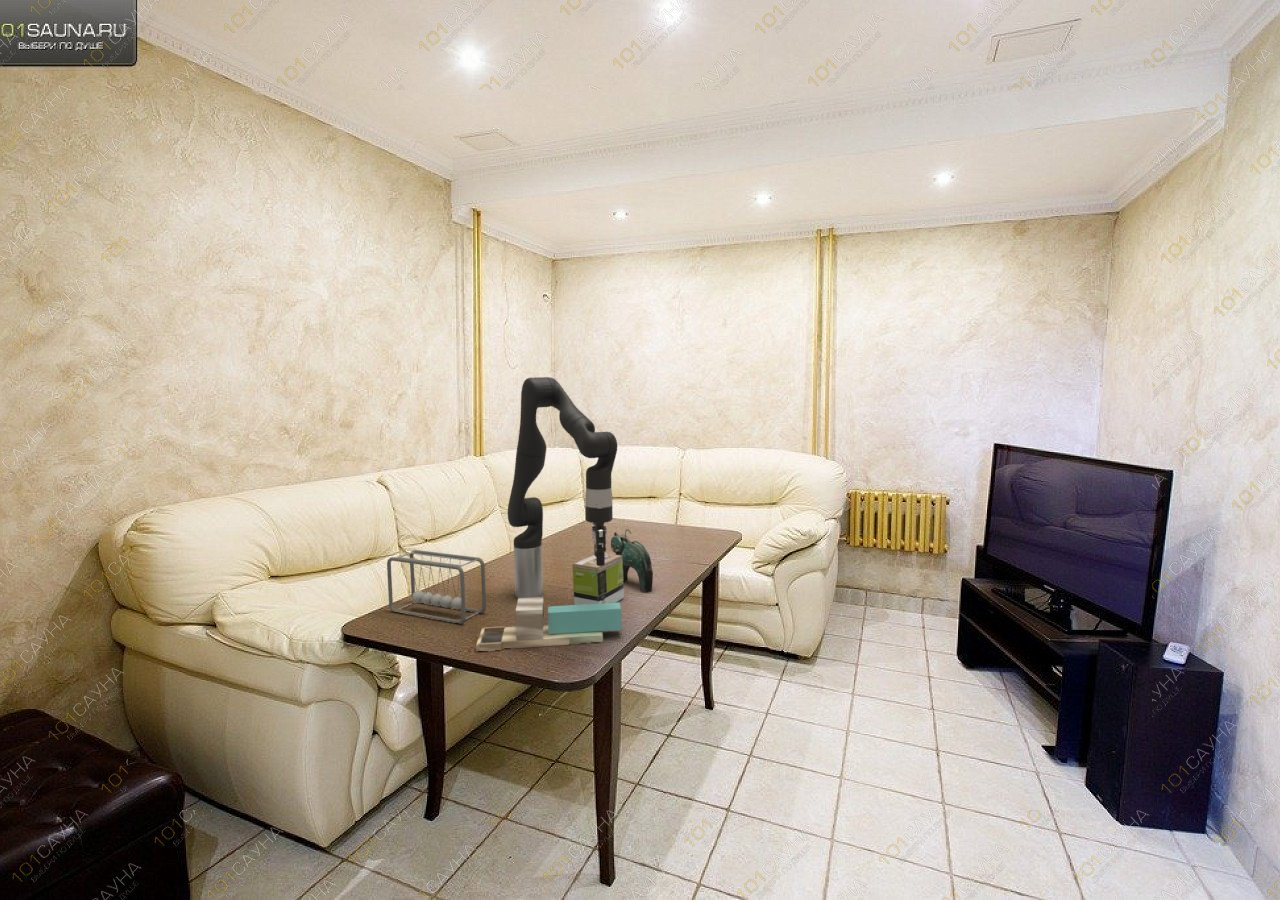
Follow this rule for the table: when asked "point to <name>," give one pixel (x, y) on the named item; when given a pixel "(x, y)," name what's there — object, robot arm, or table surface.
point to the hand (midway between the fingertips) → (599, 560)
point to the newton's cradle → (437, 598)
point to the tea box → (598, 580)
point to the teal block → (584, 618)
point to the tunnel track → (530, 631)
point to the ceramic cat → (634, 559)
